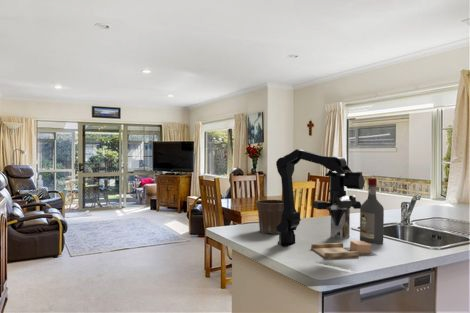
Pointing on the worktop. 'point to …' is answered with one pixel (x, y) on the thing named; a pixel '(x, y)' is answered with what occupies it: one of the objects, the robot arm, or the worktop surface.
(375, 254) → the tailgate
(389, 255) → the worktop surface
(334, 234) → the coffee box
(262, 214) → the plant pot
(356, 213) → the worktop surface
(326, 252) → the square wooden tray
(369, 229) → the liquor
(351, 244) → the block
